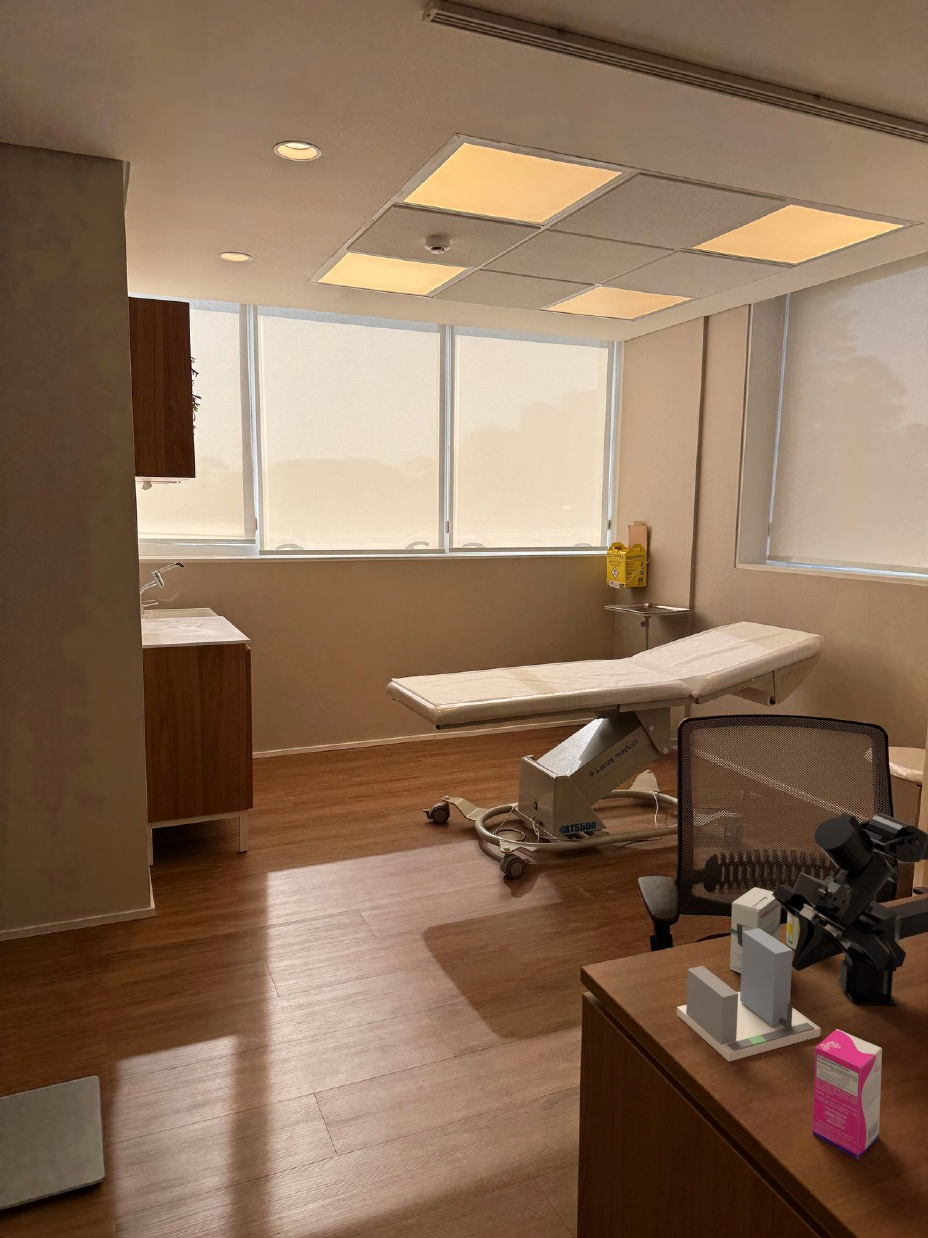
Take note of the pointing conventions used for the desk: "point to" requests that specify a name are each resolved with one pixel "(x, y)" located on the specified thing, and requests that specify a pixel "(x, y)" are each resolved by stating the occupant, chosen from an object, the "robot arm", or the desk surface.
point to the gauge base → (751, 1030)
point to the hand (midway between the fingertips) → (794, 968)
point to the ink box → (752, 920)
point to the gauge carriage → (766, 977)
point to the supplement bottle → (793, 930)
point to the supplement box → (847, 1092)
